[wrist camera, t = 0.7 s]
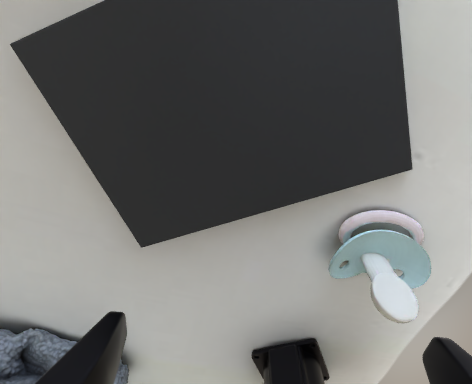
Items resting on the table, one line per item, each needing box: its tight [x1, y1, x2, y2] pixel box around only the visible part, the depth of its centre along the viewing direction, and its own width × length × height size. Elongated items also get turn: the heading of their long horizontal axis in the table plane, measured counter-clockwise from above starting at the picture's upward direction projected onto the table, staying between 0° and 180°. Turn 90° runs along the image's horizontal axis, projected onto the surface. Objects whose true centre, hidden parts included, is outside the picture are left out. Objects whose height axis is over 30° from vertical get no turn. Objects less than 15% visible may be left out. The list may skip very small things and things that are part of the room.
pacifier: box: [329, 210, 431, 323], centre depth 21 cm, size 7×6×6 cm
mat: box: [10, 0, 412, 247], centre depth 19 cm, size 15×20×1 cm
